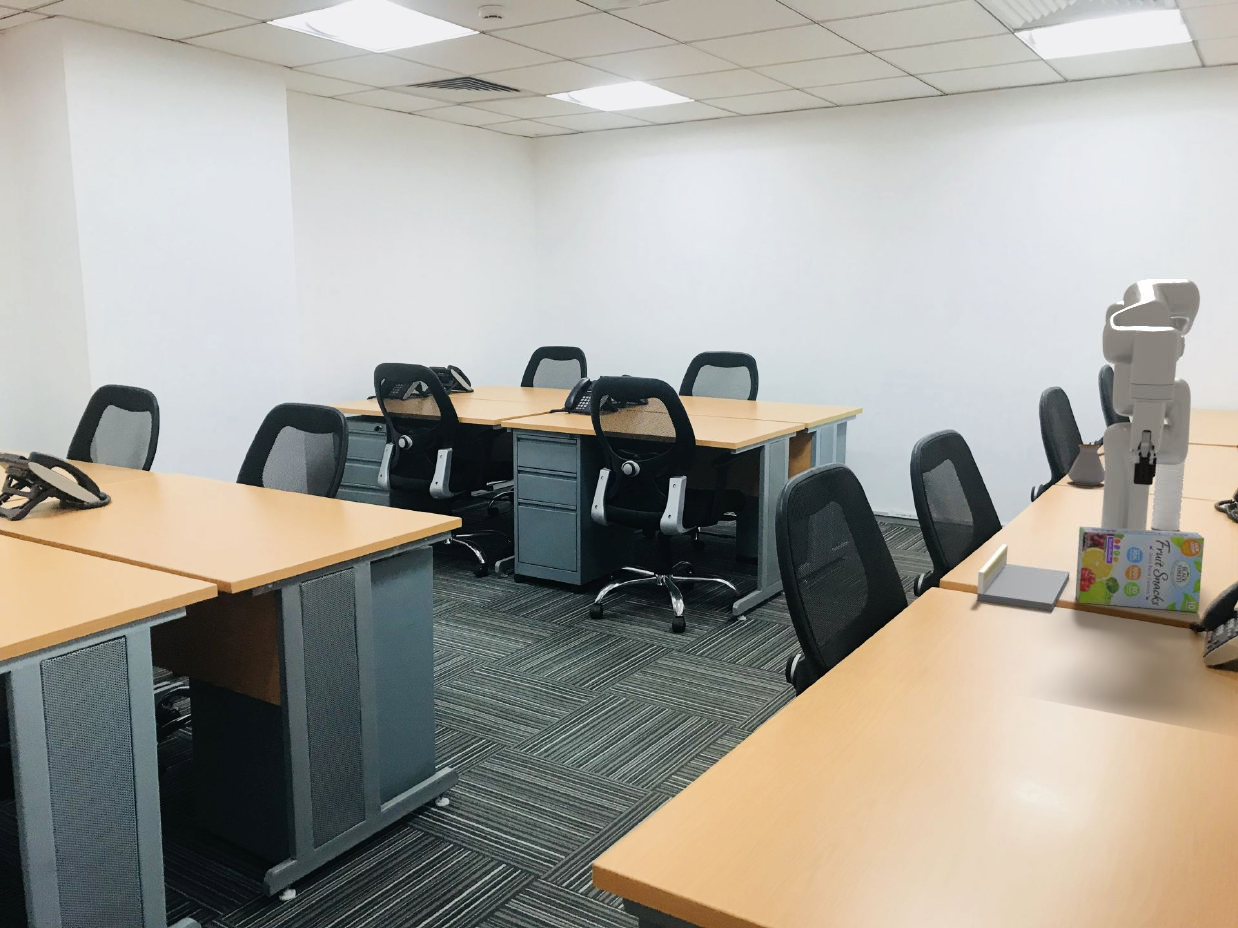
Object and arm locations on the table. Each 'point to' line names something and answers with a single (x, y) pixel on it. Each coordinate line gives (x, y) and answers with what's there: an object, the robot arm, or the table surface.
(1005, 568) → the shelf
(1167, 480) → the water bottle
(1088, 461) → the coffee pot
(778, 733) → the table surface
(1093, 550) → the snack box
